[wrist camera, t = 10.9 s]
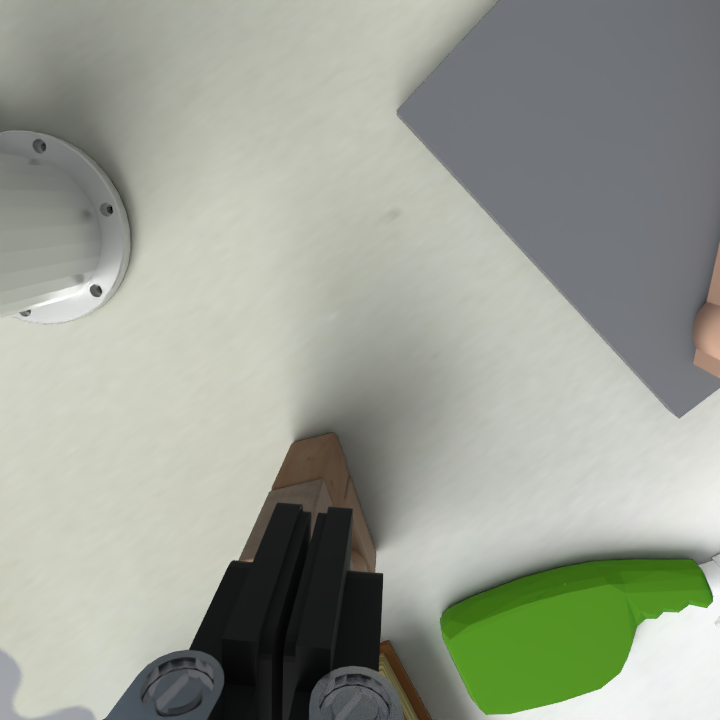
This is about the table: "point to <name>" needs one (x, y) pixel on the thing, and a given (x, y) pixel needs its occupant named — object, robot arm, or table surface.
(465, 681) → the spray bottle
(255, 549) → the wooden block
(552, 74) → the base board
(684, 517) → the table surface
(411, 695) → the diary
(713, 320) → the link
